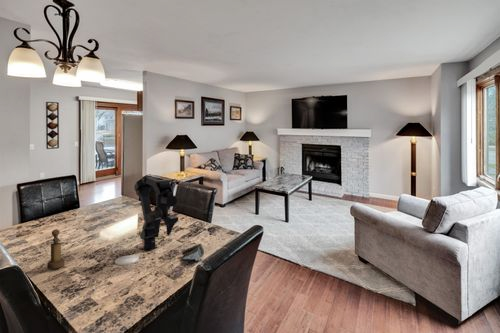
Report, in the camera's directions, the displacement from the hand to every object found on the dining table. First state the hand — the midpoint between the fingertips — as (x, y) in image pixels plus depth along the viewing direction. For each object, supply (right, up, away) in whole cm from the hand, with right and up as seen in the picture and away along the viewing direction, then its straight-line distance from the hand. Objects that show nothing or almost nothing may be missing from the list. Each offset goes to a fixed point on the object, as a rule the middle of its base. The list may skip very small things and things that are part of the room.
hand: (162, 234), depth 131 cm
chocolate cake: (+12, -15, 0) cm, 19 cm away
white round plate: (-17, -13, -3) cm, 22 cm away
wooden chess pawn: (-49, -14, -9) cm, 52 cm away
